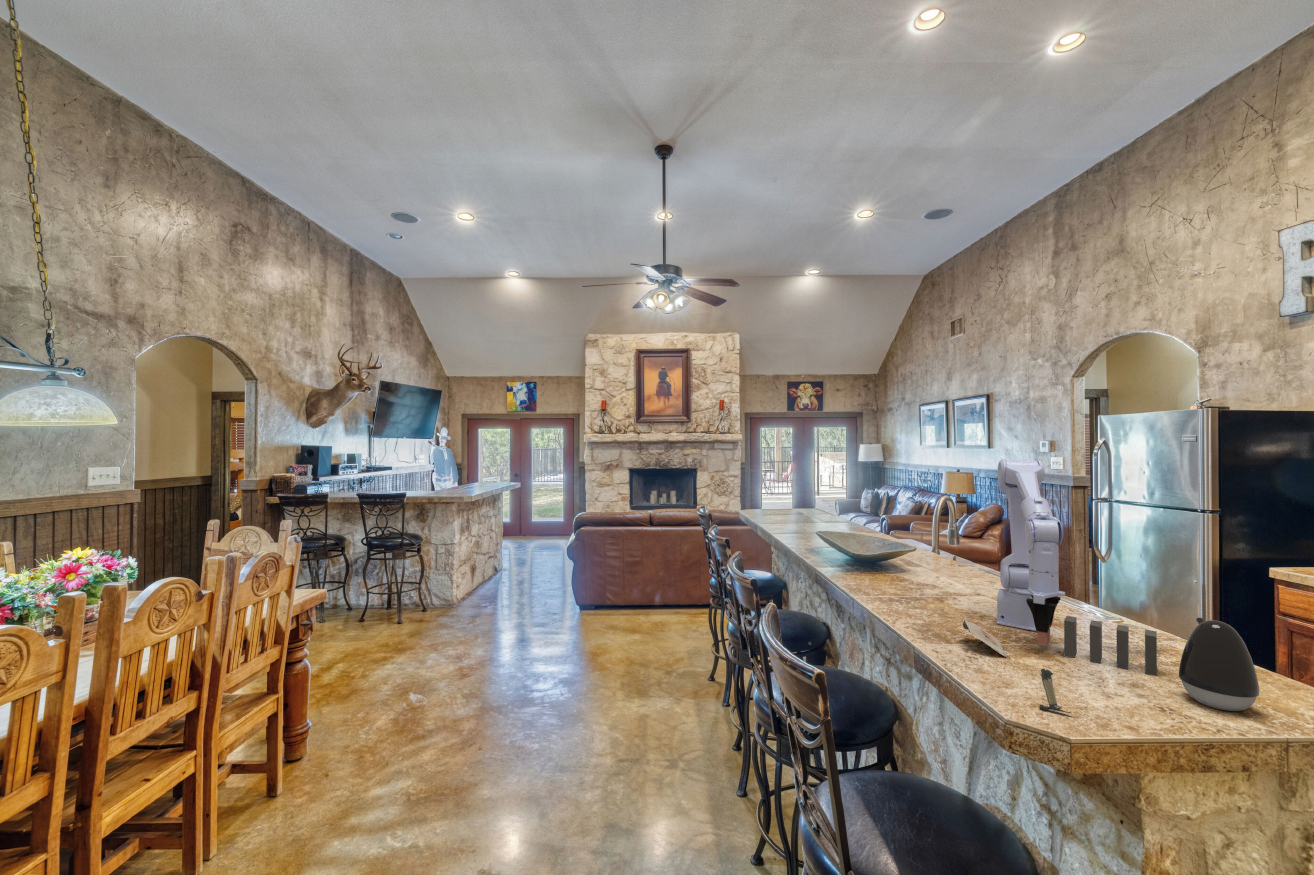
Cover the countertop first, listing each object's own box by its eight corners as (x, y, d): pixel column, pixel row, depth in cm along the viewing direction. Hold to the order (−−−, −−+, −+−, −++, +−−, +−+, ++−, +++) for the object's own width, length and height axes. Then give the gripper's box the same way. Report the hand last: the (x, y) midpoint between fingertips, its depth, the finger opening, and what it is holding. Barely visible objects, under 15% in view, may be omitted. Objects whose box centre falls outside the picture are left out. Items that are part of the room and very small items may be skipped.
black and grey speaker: (1234, 696, 102) (1233, 615, 102) (1275, 722, 92) (1274, 632, 92) (1166, 688, 105) (1165, 609, 105) (1199, 712, 95) (1198, 625, 96)
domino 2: (1089, 661, 118) (1089, 624, 118) (1091, 655, 122) (1091, 620, 122) (1100, 663, 117) (1100, 626, 117) (1102, 657, 121) (1101, 621, 121)
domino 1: (1064, 656, 121) (1064, 620, 122) (1066, 650, 125) (1066, 615, 125) (1074, 658, 120) (1074, 622, 120) (1076, 652, 124) (1076, 617, 124)
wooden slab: (1011, 668, 125) (966, 630, 134) (1021, 656, 124) (975, 619, 133) (989, 667, 118) (944, 627, 128) (999, 654, 118) (952, 616, 127)
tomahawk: (1087, 727, 91) (1087, 721, 91) (1039, 713, 95) (1039, 706, 95) (1077, 682, 109) (1078, 677, 108) (1037, 671, 112) (1037, 666, 112)
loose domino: (1050, 640, 127) (1050, 606, 127) (1047, 645, 124) (1047, 610, 124) (1040, 638, 128) (1040, 604, 129) (1037, 643, 125) (1037, 608, 125)
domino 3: (1116, 667, 115) (1116, 629, 115) (1117, 661, 119) (1117, 624, 119) (1127, 669, 114) (1127, 631, 114) (1128, 663, 118) (1128, 626, 118)
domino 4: (1145, 673, 112) (1144, 634, 112) (1145, 666, 116) (1145, 629, 116) (1156, 676, 111) (1156, 636, 111) (1156, 669, 115) (1156, 631, 115)
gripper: (1060, 578, 118) (1061, 640, 118) (1068, 568, 129) (1068, 625, 129) (1022, 573, 123) (1022, 633, 123) (1032, 564, 134) (1033, 619, 133)
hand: (1043, 629), depth 126 cm, fingers closed on loose domino, 5 cm apart
